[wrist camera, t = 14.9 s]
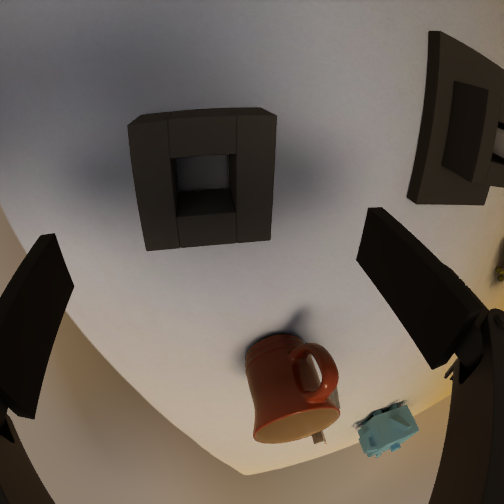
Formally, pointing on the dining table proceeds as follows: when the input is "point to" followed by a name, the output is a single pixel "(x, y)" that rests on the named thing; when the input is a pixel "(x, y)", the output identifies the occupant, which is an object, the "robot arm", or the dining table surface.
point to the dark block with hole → (475, 135)
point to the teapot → (387, 430)
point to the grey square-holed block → (204, 201)
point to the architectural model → (320, 436)
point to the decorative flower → (500, 273)
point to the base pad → (438, 116)
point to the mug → (290, 388)
